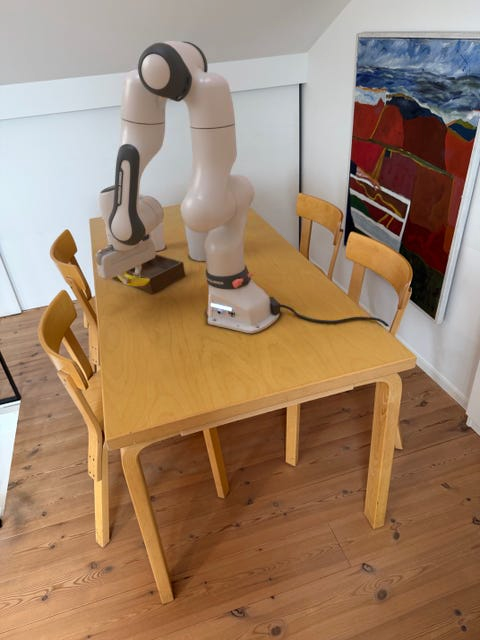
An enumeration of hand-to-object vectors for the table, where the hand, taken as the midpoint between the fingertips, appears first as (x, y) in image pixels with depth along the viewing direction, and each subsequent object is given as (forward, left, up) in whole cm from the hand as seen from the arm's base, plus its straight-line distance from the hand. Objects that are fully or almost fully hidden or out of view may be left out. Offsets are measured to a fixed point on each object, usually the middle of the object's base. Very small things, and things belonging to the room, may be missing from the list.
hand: (132, 280), depth 145 cm
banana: (0, 0, -2) cm, 2 cm away
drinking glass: (+28, -34, -8) cm, 45 cm away
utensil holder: (+6, -40, -8) cm, 41 cm away
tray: (+11, -14, -8) cm, 19 cm away
